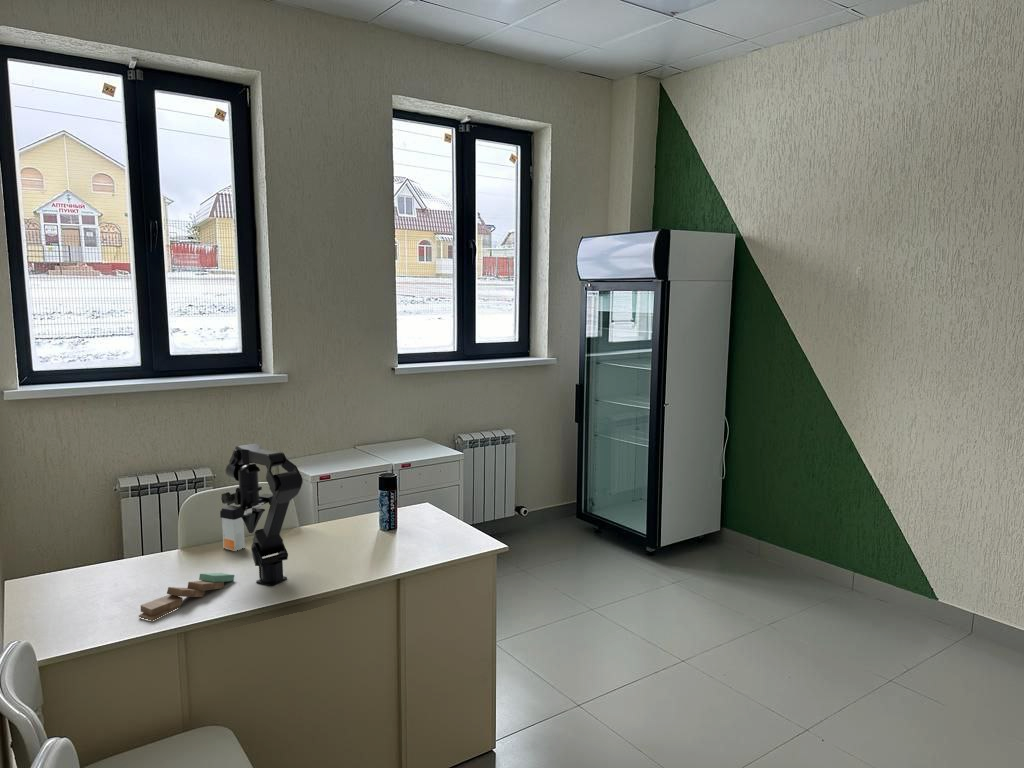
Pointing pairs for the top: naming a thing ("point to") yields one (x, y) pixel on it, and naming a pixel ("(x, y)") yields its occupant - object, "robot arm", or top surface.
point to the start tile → (216, 577)
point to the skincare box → (233, 534)
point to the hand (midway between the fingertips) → (251, 532)
